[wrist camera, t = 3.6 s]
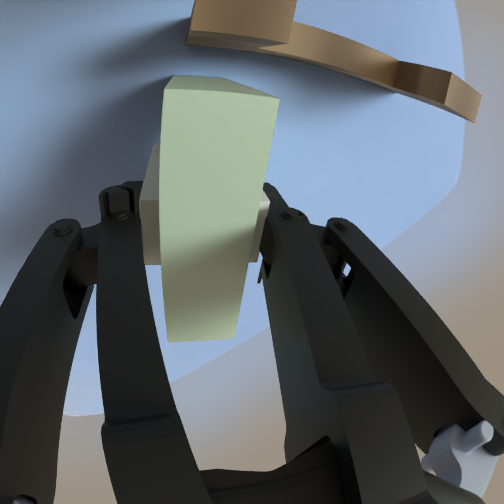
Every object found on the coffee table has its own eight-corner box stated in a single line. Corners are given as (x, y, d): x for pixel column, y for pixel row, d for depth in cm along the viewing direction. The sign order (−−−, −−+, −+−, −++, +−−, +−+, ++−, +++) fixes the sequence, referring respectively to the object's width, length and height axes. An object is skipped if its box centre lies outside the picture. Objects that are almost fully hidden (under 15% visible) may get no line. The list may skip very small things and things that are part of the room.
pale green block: (206, 214, 21) (234, 338, 13) (166, 214, 20) (167, 342, 12) (222, 77, 15) (280, 98, 7) (173, 75, 14) (164, 88, 6)
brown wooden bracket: (185, 45, 13) (190, 30, 7) (190, 16, 12) (199, -18, 6) (397, 93, 18) (474, 123, 12) (402, 71, 16) (481, 95, 10)
